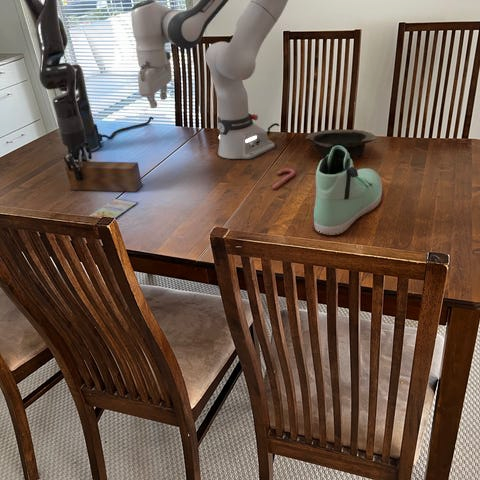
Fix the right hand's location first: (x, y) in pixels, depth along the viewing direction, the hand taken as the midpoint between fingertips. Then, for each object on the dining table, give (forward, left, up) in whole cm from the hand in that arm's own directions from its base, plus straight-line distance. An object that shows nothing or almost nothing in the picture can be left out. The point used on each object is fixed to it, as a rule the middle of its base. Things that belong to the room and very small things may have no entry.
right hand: (159, 103), depth 157 cm
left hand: (+27, -11, -21) cm, 36 cm away
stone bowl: (-54, +30, -25) cm, 66 cm away
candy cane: (-24, +32, -25) cm, 47 cm away
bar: (+22, -6, -25) cm, 34 cm away
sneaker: (-26, +60, -25) cm, 70 cm away
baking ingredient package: (+28, +13, -25) cm, 40 cm away
